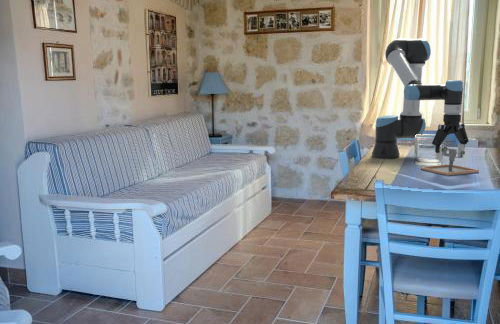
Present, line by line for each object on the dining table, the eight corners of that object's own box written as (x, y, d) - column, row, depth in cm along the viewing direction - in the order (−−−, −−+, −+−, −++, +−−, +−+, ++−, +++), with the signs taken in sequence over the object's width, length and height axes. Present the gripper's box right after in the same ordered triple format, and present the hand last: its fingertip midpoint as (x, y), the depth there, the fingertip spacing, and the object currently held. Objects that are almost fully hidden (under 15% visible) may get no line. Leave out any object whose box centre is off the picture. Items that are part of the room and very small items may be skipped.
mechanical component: (462, 171, 226) (465, 150, 225) (439, 168, 228) (442, 147, 227) (460, 171, 229) (464, 150, 228) (438, 168, 231) (441, 147, 230)
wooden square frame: (420, 169, 233) (420, 167, 232) (449, 166, 240) (450, 164, 239) (448, 175, 217) (448, 173, 216) (478, 172, 224) (478, 169, 223)
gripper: (437, 115, 216) (434, 161, 219) (478, 113, 225) (475, 157, 229) (425, 114, 222) (423, 159, 226) (466, 112, 232) (463, 155, 236)
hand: (449, 158), depth 228 cm, fingers open, 13 cm apart
